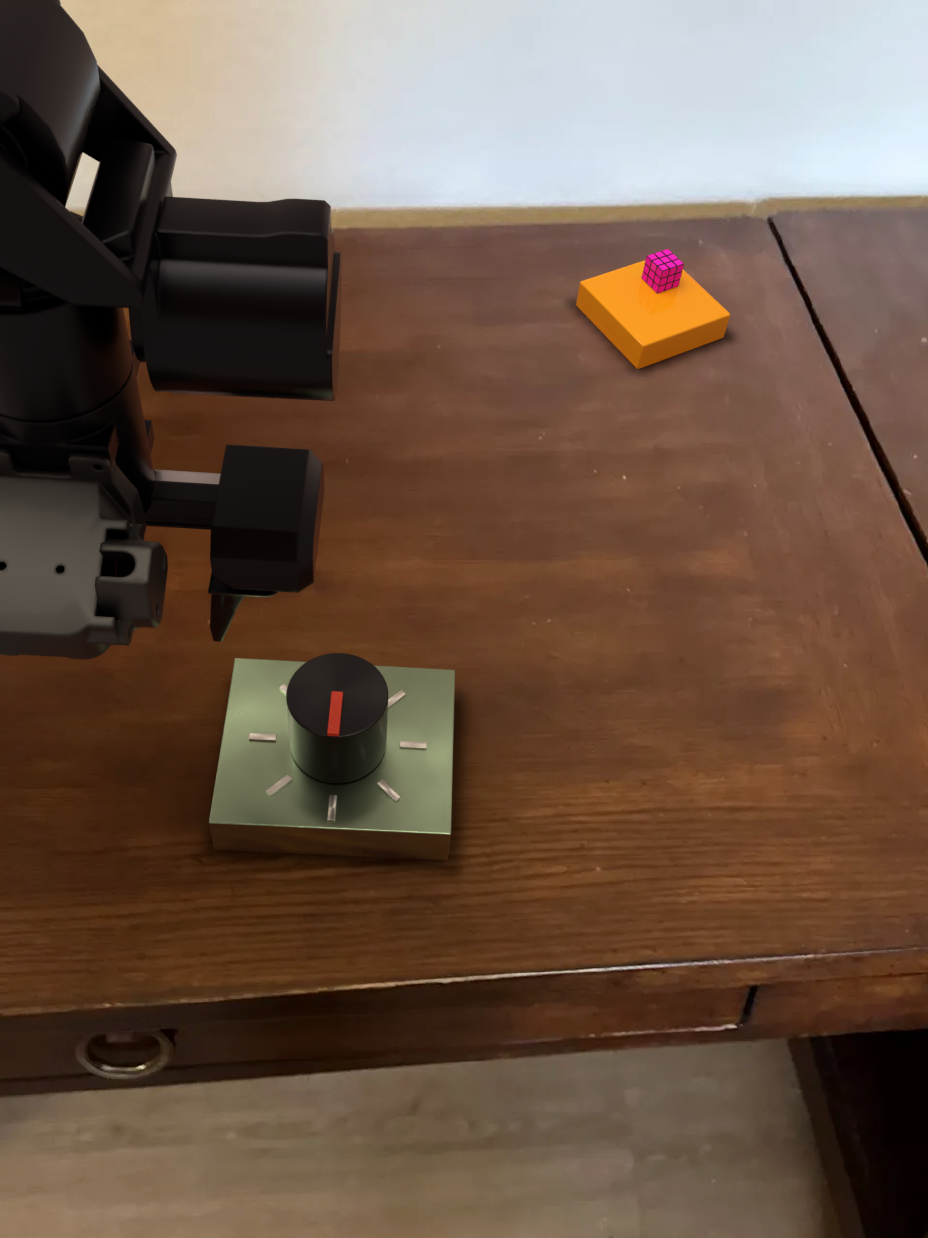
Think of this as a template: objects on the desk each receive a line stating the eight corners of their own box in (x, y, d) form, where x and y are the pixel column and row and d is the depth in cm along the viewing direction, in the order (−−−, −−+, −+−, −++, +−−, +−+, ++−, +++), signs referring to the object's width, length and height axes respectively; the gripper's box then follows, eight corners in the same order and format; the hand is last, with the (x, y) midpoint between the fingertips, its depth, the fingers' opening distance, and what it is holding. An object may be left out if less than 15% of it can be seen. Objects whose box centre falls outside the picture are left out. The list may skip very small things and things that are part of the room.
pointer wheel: (295, 698, 64) (291, 645, 61) (389, 704, 65) (391, 651, 61) (284, 781, 61) (280, 731, 58) (383, 786, 62) (385, 737, 58)
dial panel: (213, 850, 62) (207, 821, 60) (238, 688, 68) (234, 655, 66) (447, 861, 63) (451, 833, 60) (451, 699, 69) (455, 667, 66)
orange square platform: (724, 338, 90) (738, 291, 86) (637, 370, 87) (648, 323, 84) (660, 276, 94) (671, 229, 90) (575, 305, 91) (583, 257, 87)
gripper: (-312, 520, 38) (-147, 772, 50) (291, 556, 39) (306, 794, 51) (-190, 292, 44) (-72, 564, 57) (321, 327, 45) (328, 587, 58)
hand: (118, 628), depth 55 cm, fingers open, 9 cm apart
